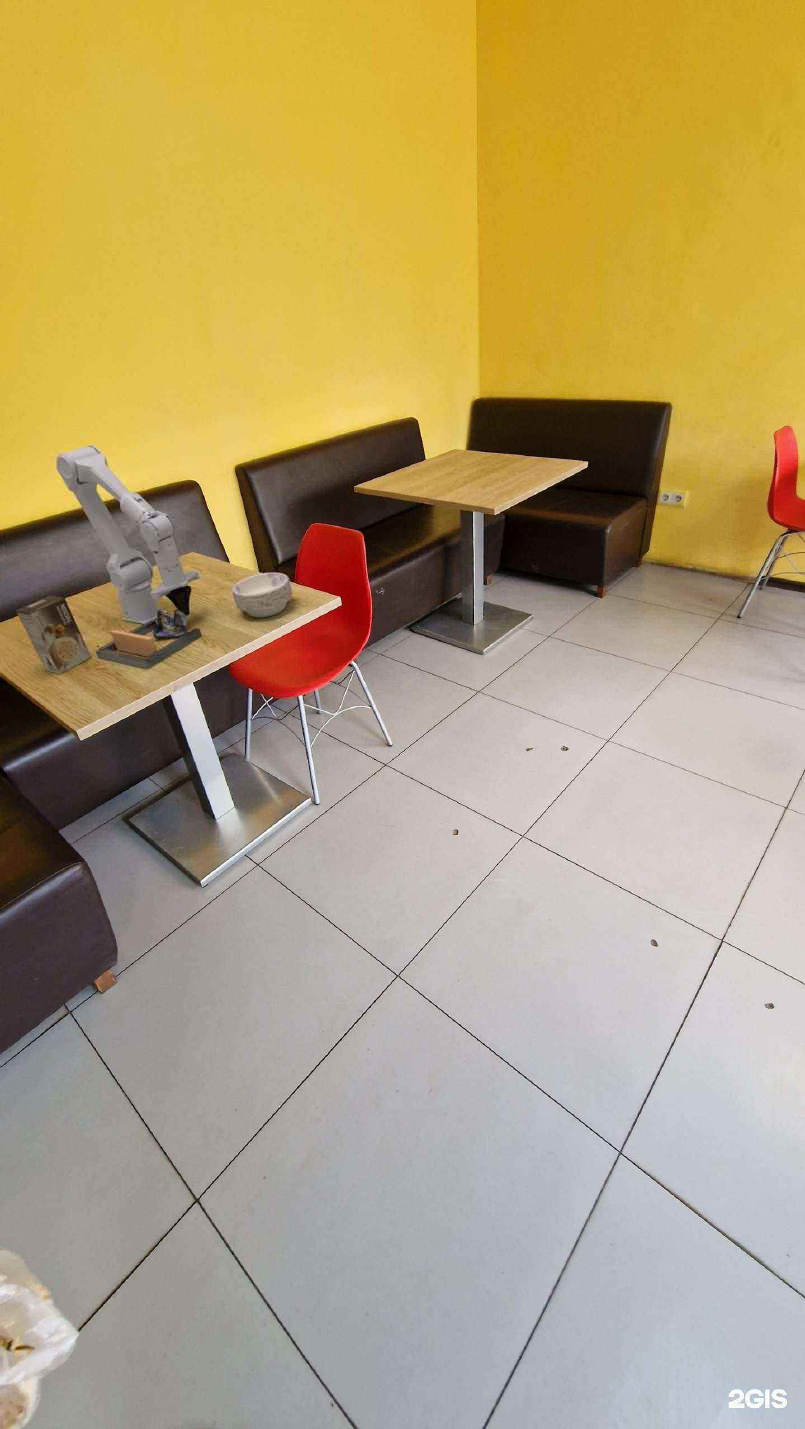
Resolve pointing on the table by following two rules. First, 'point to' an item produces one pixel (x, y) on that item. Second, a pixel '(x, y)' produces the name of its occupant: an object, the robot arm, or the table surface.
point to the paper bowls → (262, 594)
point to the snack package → (170, 624)
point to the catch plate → (133, 643)
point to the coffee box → (54, 634)
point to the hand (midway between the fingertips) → (185, 614)
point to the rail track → (153, 659)
